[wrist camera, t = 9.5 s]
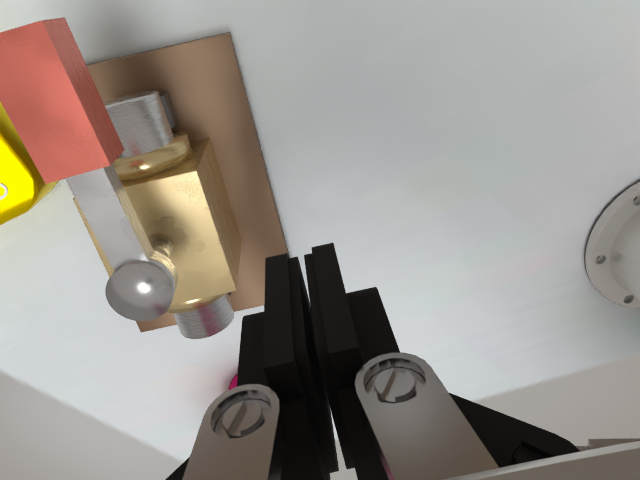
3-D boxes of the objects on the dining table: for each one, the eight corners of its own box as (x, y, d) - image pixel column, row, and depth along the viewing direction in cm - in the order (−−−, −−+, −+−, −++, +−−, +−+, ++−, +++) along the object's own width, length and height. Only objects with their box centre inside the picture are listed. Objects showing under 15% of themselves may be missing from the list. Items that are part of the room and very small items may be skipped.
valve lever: (189, 286, 28) (182, 311, 25) (133, 301, 28) (122, 327, 26) (66, 17, 21) (44, 20, 19) (-5, 37, 21) (-35, 43, 19)
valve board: (230, 32, 32) (228, 33, 31) (297, 287, 41) (298, 297, 40) (35, 76, 32) (25, 80, 31) (145, 321, 42) (141, 332, 40)
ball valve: (191, 77, 32) (160, 111, 23) (255, 284, 39) (251, 371, 30) (84, 101, 32) (13, 144, 23) (168, 304, 39) (139, 396, 30)
